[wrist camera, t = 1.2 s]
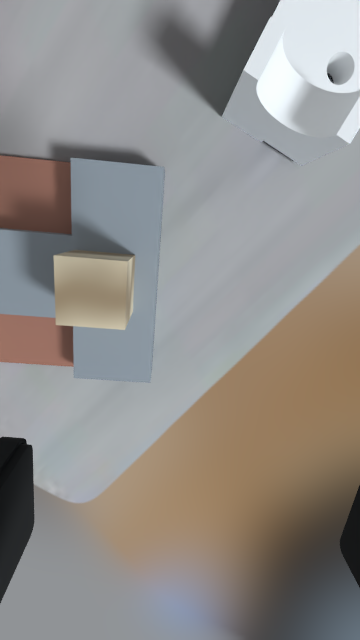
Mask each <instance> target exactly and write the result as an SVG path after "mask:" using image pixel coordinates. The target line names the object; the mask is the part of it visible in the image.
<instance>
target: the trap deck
mask: <svg viewBox="0 0 360 640" xmlns="http://www.w3.org/2000/svg"><path fill="white" fill-rule="evenodd" d="M164 178H165V170H164V167H159V166H150V165H140V164H130V163H120V162H110V161H100V160H90V159H80V158H71V163H70V162H60V161H50V160H41V159H31V158H21V157H11V156H1V155H0V362H11V363H26V364H42V365H57V366H72V367H74V378H84V379H100V380H115V381H131V382H147V383H150V380H151V372H152V359H153V344H154V329H155V314H156V299H157V283H158V268H159V253H160V238H161V223H162V208H163V193H164ZM72 250H84V251H96V252H107V253H119V254H131V255H135V274H134V296H133V312H132V315H131V317H130V319H129V322H128V324H127V326H126V328H125V330H119V329H105V328H91V327H77V326H64V325H56V316H55V285H54V255H57V254H61V253H64V252H68V251H72Z"/></svg>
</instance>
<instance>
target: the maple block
mask: <svg viewBox="0 0 360 640" xmlns="http://www.w3.org/2000/svg"><path fill="white" fill-rule="evenodd" d="M134 274H135V255H131V254H119V253H107V252H96V251H84V250H72V251H68V252H64V253H61V254H57V255H54V285H55V316H56V325H64V326H77V327H91V328H105V329H119V330H125V328H126V326H127V324H128V322H129V319H130V317H131V315H132V312H133V296H134Z"/></svg>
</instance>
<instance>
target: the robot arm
mask: <svg viewBox="0 0 360 640" xmlns="http://www.w3.org/2000/svg"><path fill="white" fill-rule="evenodd" d="M33 490H34V489H33V449H32V445H27V443H26V440H25V439H24V438H12V437H1V438H0V603H1V600H2V598H3V596H4V594H5V592H6V589H7V587H8V585H9V583H10V580H11V578H12V576H13V574H14V572H15V569H16V567H17V565H18V563H19V561H20V558H21V556H22V554H23V552H24V549H25V547H26V545H27V543H28V541H29V538H30V536H31V533H32V530H33V526H34V491H33ZM340 548H341V552H342V554H343V557H344V558H345V560H346V562H347V564H348V566H349V568H350V570H351V572H352V574H353V576H354V578H355V579H356V581H357V583H358V585H359V587H360V486H359V489H358V491H357V494H356V497H355V500H354V503H353V505H352V508H351V511H350V513H349V516H348V519H347V522H346V525H345V527H344V530H343V534H342V536H341V539H340Z"/></svg>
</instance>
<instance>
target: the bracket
mask: <svg viewBox="0 0 360 640" xmlns="http://www.w3.org/2000/svg"><path fill="white" fill-rule="evenodd" d="M327 73H329V74H330V75H331V76H332V78H333V81H334V84H333V83H332V82H331V81H330V80H329V78H328V75H327ZM359 89H360V0H280V2H279V4H278V6H277V8H276V10H275V12H274V14H273V16H272V17H270V19H269V21H268V23H267V25H266V27H265V29H264V31H263V32H262V34H261V36H260V38H259V40H258V42H257V44H256V46H255V48H254V50H253V52H252V54H251V56H250V58H249V60H248V62H247V64H246V66H245V68H244V70H243V72H242V74H241V76H240V78H239V80H238V83H237V85H236V87H235V89H234V91H233V93H232V96H231V98H230V100H229V102H228V104H227V106H226V108H225V111H224V113H223V115H222V118H224V119H225V120H227V121H228V122H230V123H231V124H233V125H234V126H236V127H237V128H239V129H240V130H242V131H243V132H245V133H246V134H248V135H249V136H251V137H252V138H254V139H256V140H257V141H259V142H260V143H261V142H262V141H265V142H266V143H268V144H269V145H271V146H272V147H274V148H275V149H277V150H278V151H280V152H281V153H283V154H284V155H286V156H287V157H289V158H290V159H292V160H293V161H295V162H296V163H298V164H300V165H301V166H303V165H305V164H307V163H309V162H311V161H314V160H316V159H318V158H320V157H322V156H325V155H327V154H329V153H331V152H333V151H335V150H338V149H340V148H342V147H344V146H346V145H348V144H350V143H351V141H352V139H353V138H354V136H355V135H356V133H357V131H358V130H359V128H360V90H359Z"/></svg>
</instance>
